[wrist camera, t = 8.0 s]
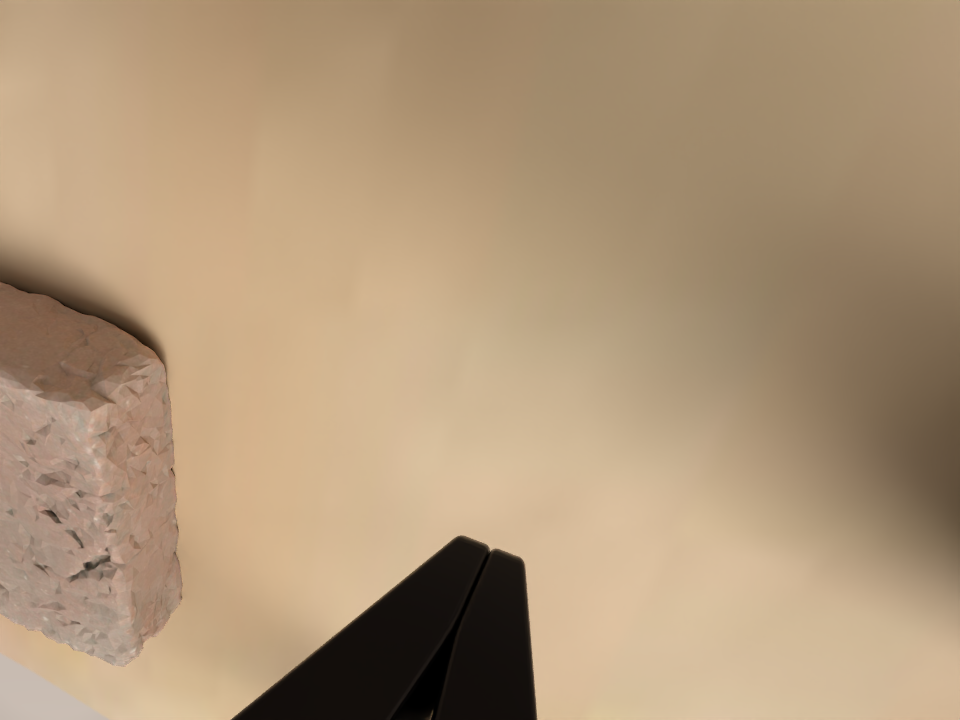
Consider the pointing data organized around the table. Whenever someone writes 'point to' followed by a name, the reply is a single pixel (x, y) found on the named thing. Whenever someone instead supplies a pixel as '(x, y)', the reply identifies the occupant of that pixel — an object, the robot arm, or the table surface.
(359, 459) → the table surface
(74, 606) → the brick
